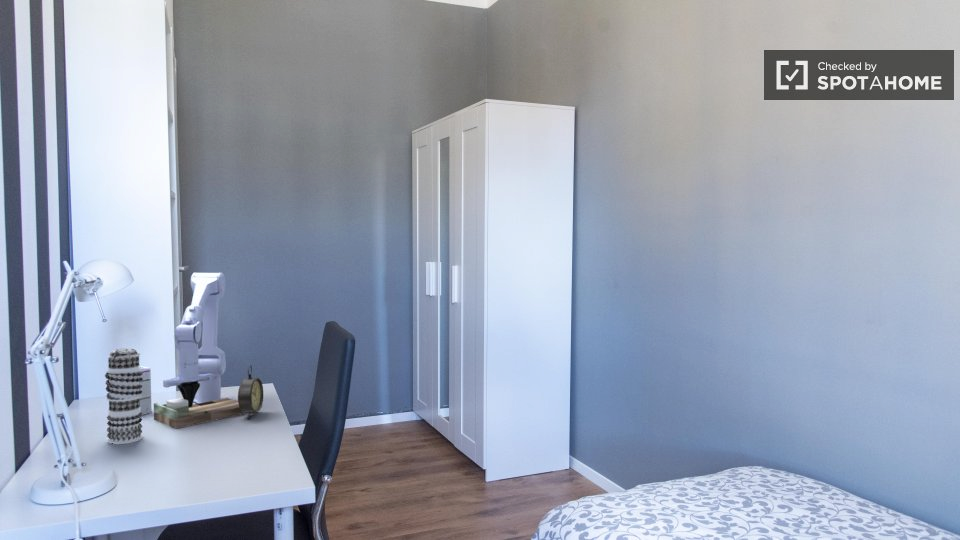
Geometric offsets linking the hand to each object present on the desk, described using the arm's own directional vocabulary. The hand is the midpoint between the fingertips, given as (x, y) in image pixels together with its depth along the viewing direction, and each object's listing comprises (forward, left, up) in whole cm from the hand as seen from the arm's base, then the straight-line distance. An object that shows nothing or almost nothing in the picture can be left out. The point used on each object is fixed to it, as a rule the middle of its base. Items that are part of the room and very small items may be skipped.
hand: (188, 406), depth 203 cm
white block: (0, -4, -1) cm, 4 cm away
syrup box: (-18, -8, -4) cm, 20 cm away
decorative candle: (+7, -22, -4) cm, 23 cm away
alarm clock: (+11, +14, -4) cm, 18 cm away
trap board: (0, +4, -4) cm, 6 cm away
